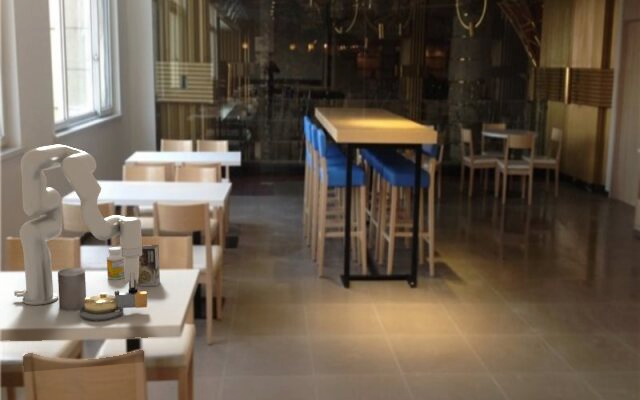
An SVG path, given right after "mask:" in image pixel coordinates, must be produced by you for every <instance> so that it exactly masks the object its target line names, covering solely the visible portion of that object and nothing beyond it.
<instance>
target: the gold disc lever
mask: <svg viewBox="0 0 640 400" xmlns="http://www.w3.org/2000/svg"><path fill="white" fill-rule="evenodd" d="M113 293H114V295H111V294H110V295H109V294H107V292H100V293H99V295H94V296H90V297H89V296H86V298H85V301H84V310H85V312H87V313H91V314H104V313H109V312H113V311H115V310H117V309H118V308H123V309H128V308H129V309H131V308H133V309H134V308H135V309H142V308H147V307H148V292H147V291H138V292H129V291H128V292H120V291H119V290H115V291H114V292H113Z"/></svg>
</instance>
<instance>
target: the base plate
mask: <svg viewBox="0 0 640 400" xmlns="http://www.w3.org/2000/svg"><path fill="white" fill-rule="evenodd" d="M79 315H80V319H81V320H84V321H87V322H96V323H97V322H107V321H113V320H115V319H116V320H117V319H118V318H120V317H122V316H123V315H124V308H118V309H117V310H115V311H113V312H109V313H104V314H91V313H87V312H85V310H84V307H83V308H82V309H79Z"/></svg>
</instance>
